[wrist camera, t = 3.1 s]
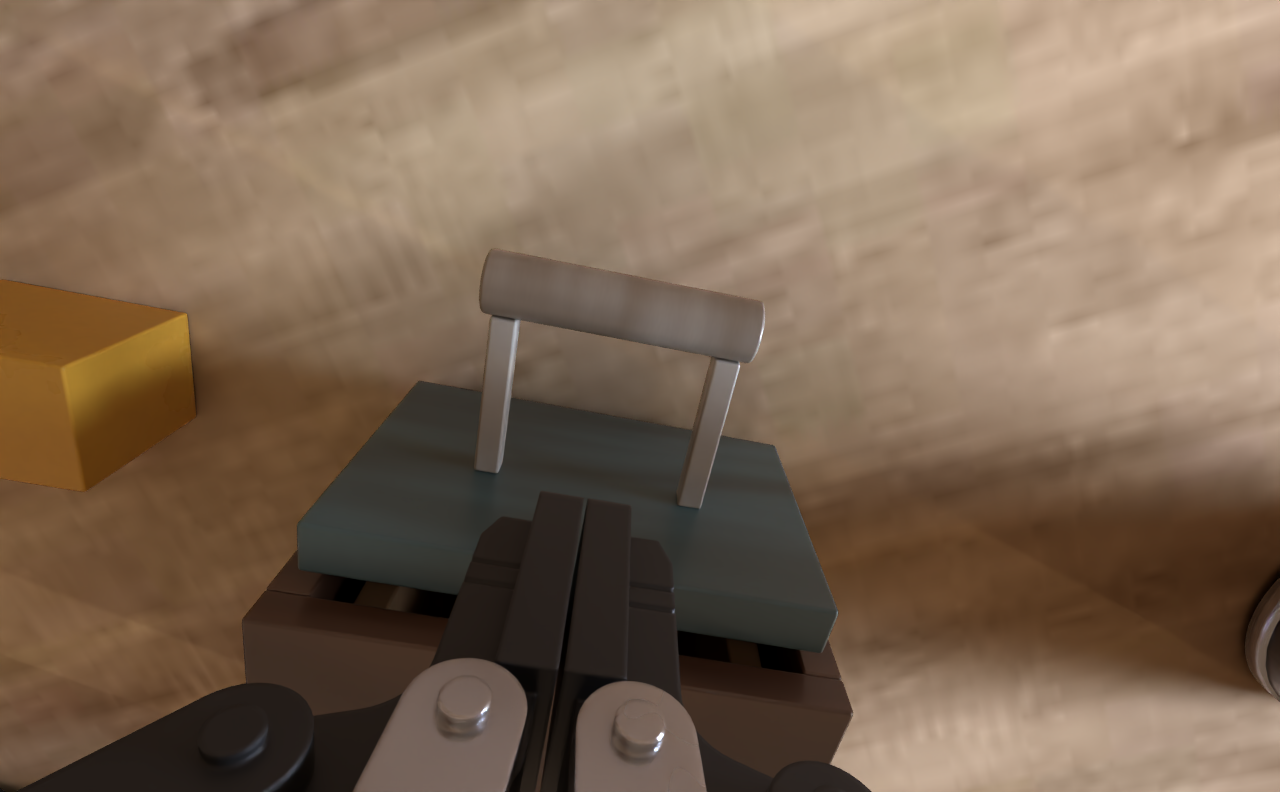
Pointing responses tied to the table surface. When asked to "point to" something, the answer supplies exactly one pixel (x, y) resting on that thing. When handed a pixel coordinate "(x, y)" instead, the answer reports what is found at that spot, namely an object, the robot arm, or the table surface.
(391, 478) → the drawer
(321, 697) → the cabinet
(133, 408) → the yellow cube
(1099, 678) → the table surface
